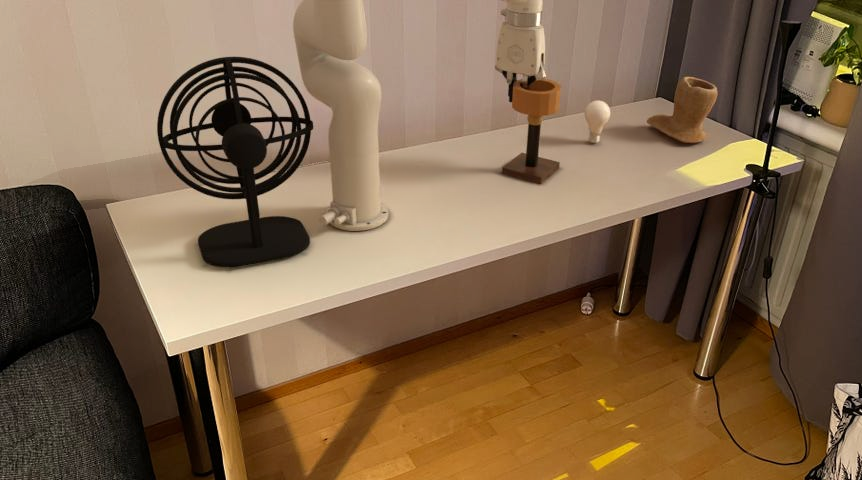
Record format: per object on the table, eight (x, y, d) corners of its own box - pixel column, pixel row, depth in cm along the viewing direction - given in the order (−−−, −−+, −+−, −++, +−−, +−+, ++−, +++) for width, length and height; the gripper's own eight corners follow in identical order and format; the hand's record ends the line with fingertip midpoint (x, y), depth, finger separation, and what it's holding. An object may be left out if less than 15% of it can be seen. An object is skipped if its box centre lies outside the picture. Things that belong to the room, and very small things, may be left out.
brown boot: (717, 142, 202) (729, 85, 194) (682, 149, 197) (693, 91, 189) (678, 121, 213) (688, 67, 205) (644, 128, 208) (653, 72, 200)
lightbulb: (579, 145, 196) (583, 103, 190) (583, 136, 202) (588, 95, 196) (604, 149, 195) (609, 107, 189) (608, 140, 200) (613, 98, 194)
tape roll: (546, 119, 169) (548, 97, 166) (504, 109, 173) (505, 87, 170) (566, 105, 176) (568, 83, 174) (525, 95, 180) (526, 74, 178)
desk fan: (313, 210, 162) (298, 41, 143) (336, 251, 149) (324, 70, 130) (175, 233, 152) (140, 54, 133) (187, 279, 139) (151, 87, 120)
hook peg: (534, 168, 180) (539, 115, 173) (521, 165, 181) (525, 112, 174) (541, 163, 182) (545, 110, 175) (528, 160, 184) (532, 107, 177)
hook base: (541, 184, 177) (541, 177, 176) (501, 173, 181) (502, 167, 180) (559, 168, 184) (559, 162, 184) (521, 158, 188) (521, 152, 187)
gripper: (482, 15, 166) (479, 99, 176) (549, 28, 160) (542, 114, 170) (499, 8, 172) (495, 89, 182) (564, 20, 166) (557, 103, 176)
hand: (518, 100), depth 176 cm, fingers closed on tape roll
